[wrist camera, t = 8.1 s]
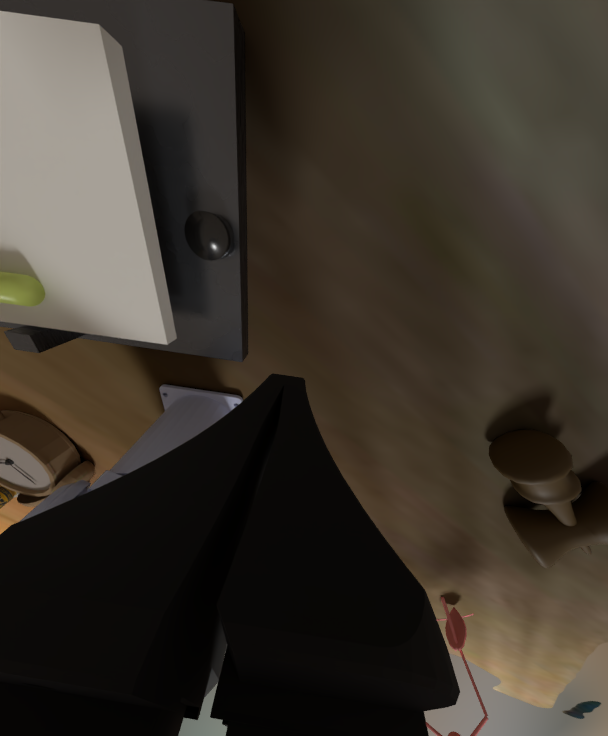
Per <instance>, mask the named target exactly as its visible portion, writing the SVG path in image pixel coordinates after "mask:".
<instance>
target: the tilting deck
mask: <svg viewBox="0 0 608 736" xmlns="http://www.w3.org/2000/svg"><path fill="white" fill-rule="evenodd" d="M0 321H2V322H9V323H16V324H23V325H30V326H37V327H45V328H52V329H59V330H66V331H73V332H80V333H87V334H94V335H102V336H109V337H116V338H123V339H130V340H137V341H144V342H151V343H159V344H166V345H168V344H169V343H171V342H172V341H174V340H175V339H177V337H176V331H175V326H174V321H173V315H172V310H171V305H170V300H169V294H168V289H167V284H166V278H165V273H164V268H163V262H162V257H161V252H160V246H159V241H158V236H157V230H156V225H155V220H154V214H153V209H152V204H151V198H150V193H149V188H148V182H147V177H146V172H145V166H144V161H143V156H142V150H141V145H140V140H139V134H138V129H137V124H136V118H135V113H134V108H133V102H132V97H131V92H130V87H129V81H128V76H127V71H126V65H125V60H124V55H123V49H122V46H121V45H120V44H119V43H118V42H117V41H116V40H115V39H114V38H113V37H112V36H111V35H110V34H109V33H108V32H107V31H105V30H104V29H103V28H102V27H101V26H100V25H99V24H93V23H86V22H79V21H71V20H64V19H57V18H49V17H42V16H35V15H27V14H20V13H12V12H5V11H0Z"/></svg>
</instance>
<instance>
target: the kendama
mask: <svg viewBox="0 0 608 736" xmlns="http://www.w3.org/2000/svg"><path fill="white" fill-rule="evenodd" d="M489 457H490V459H491V461H492V463H493V465H494V467H495V468H496V469H497V470H498V471H499V472H500V473H501V474H502V475H503V476H505V477H507V478H508V479H510V481H511V483H512V485H513V487H514V489H515V490H516V491H517V492H518V493H519V494H520V495H521V496H522V497H524V498H526V499H528V500H530V501H531V502H533V503H538V504H544V505H545V506H546V507H547V508H548V510H533V509H526V508H521V507H515V506H506V507H505V513H506V515H507V518H508V520H509V521H510V523H511V525H512V527H513V528H514V530H515V532H516V533H517V535H518V536H519V538H520V540H521V541H522V543H523V544H524V545H525V547H526V548H527V550H528V551H529V552H530V554H531V555H532V556H533V558H534V559H535V560H536V561H537V562H538V563H539V564H540V565H541V566H543V567H544V568H550V567H552V566H553V565H554V564H555V563H556V562H557V561H558V560H559V559H560V558H561V557H562V556H563V555H565V554H566V553H567V552H569V551H571V550H573V549H576V548H581V549H582V550H583V551H584V552H585V553H586V554H591V553H592V552H591V549H590V547H589V546H591V545H597V544H608V487H607V486H606V485H604V484H603V483H601V482H597V481H595V482H592V483H590V484H589V485H588V487H587V488H586V489H585V490H584V492H583V493H582V494H581V496H580V497H579V498H578V499H577V500H576V501H575V502H573V503H572V504H571V500H573V499H575V498H576V497H577V496H578V494H579V493H580V492H581V484H580V480H579V479H578V477H577V476H576V475H575V473H574V472H573V471H572V470H571V469H572V468H573V462H572V455H571V454H570V453H569V451H568V450H567V449H566V448H565V446H564V445H563V444H562V443H561V442H560V441H558V440H557V439H555V438H554V437H552V436H551V435H549V434H546V433H543V432H540V431H537V430H516V431H512V432H508V433H506V434H504V435H502V436H500V437H498V438H496V439H495V440H494V441H493V442H492V443H491V445H490V446H489Z"/></svg>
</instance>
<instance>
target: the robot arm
mask: <svg viewBox="0 0 608 736" xmlns="http://www.w3.org/2000/svg"><path fill="white" fill-rule="evenodd" d="M159 390H160V394H161V398H162V401H163V405H164V409H165V412H164V413H163V414H162V415H161V416H160V417H159V418H158V419H157V420H156V421H155V423H154V424H153V425H152V426H151V427H150V428H149V429H148V430H147V431H146V432H145V433H144V434H143V435H142V436H141V438H140V439H139V440H138V441H137V442H136V443H135V444H134V445H133V446H132V447H131V448H130V449H129V450H128V451H127V452H126V454H125V455H124V456H123V457H122V458H121V459H120V460H119V461H118V462H117V463H116V464H115V465H114V466H113V467H112V469H111V470H110V471H108V470H107V471H105V472H104V473H103V474H102V475H101V476H100V477H99V478H98V479H97V480H96V481H95V483H94V484H93V485H92V486H91V487H90V488H89V489H87V488H88V487H89V485H90V484H91V483H89V482H87V481H85V480H79V481H77V482H76V483H71V484H67V485H64V486H62V487H60V488H58V489H57V490H56V491H54V492H53V493H52V494H51V495H49V496H48V497H47V498H46V499H45V500H43V501H42V502H41V503H40V504H39V505H38V506H36V507H35V508H34V509H33V510H32V511H31V512H30V513H29V514H27V515H26V516H25V517H24V518H23V519H22V520H21V521H20V522H18V523H16V524H13V525H11V526H10V527H9V528H8V529H6V530H5V531H4V532H3V533H2V534H1V535H0V736H178V734H179V731H180V727H181V724H182V721H183V717H184V718H190V719H195V720H198V718H199V715H200V711H201V707H202V703H203V699H204V697H205V696H206V695H207V694H208V693H209V692H210V691H211V690H212V689H213V687H214V686H215V685H216V684H217V683H218V686H217V689H216V693H215V698H214V702H213V706H212V711H211V716H210V717H211V718H216V719H221V720H223V722H222V724H223V725H225V726H227V732H226V736H428V731H427V726H426V721H425V716H424V711H427V710H433V709H439V708H445V707H449V706H452V705H455V704H456V701H457V699H458V696H459V693H460V690H459V686H458V683H457V679H456V676H455V673H454V670H453V666H452V663H451V659H450V656H449V652H448V649H447V646H446V644H445V641H444V638H443V636H442V633H441V630H440V627H439V625H438V622H437V619H436V617H435V614H434V612H433V609H432V607H431V604H430V601H429V599H428V596H427V594H426V591H425V590H424V588H423V587H422V586H421V585H420V583H419V582H418V581H417V579H416V578H415V577H414V576H413V574H412V573H411V572H410V571H409V569H408V568H407V567H406V566H405V564H404V563H403V562H402V560H401V559H400V558H399V557H398V555H397V554H396V553H395V551H394V550H393V549H392V547H391V546H390V545H389V543H388V542H387V541H386V539H385V538H384V537H383V535H382V534H381V533H380V531H379V530H378V528H377V527H376V526H375V524H374V523H373V521H372V520H371V519H370V517H369V516H368V514H367V513H366V512H365V510H364V509H363V507H362V506H361V504H360V502H359V501H358V499H357V498H356V496H355V495H354V493H353V492H352V490H351V488H350V487H349V485H348V484H347V482H346V481H345V479H344V478H343V476H342V474H341V473H340V471H339V469H338V467H337V466H336V464H335V462H334V460H333V458H332V456H331V455H330V453H329V451H328V449H327V447H326V445H325V443H324V441H323V438H322V436H321V434H320V432H319V429H318V427H317V424H316V422H315V419H314V417H313V414H312V411H311V408H310V405H309V401H308V397H307V393H306V387H305V380H304V379H303V378H300V377H293V376H286V375H279V374H271V375H270V376H269V377H268V378H267V379H266V380H265V381H264V382H263V383H262V384H261V385H260V386H259V387H258V388H257V389H256V390H255V391H254V392H253V393H251V394H250V395H249V396H248V397H247V398H246V399H245V400H244V401H243V399H242V397H240V396H238V395H233V394H226V393H220V392H213V391H206V390H199V389H193V388H186V387H179V386H173V385H166V384H163V385H162V386H161V387H160V388H159ZM166 393H167V394H166ZM236 403H237V404H238V405H237V404H236ZM226 646H227V648H226ZM225 651H226V652H225ZM224 655H225V656H224ZM223 660H224V661H223Z"/></svg>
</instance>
